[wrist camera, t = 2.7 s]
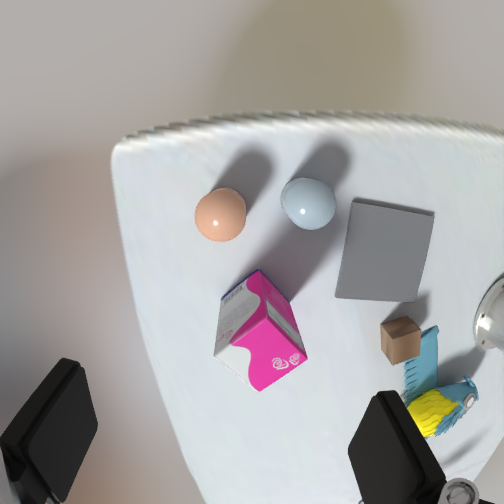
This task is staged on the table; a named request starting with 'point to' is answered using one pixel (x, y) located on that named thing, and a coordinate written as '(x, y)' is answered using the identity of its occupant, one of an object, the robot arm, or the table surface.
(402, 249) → the coaster
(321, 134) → the table surface
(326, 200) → the pale blue dome knob
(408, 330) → the walnut block
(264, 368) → the supplement box
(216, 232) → the peach dome cap
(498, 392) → the table surface
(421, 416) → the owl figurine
